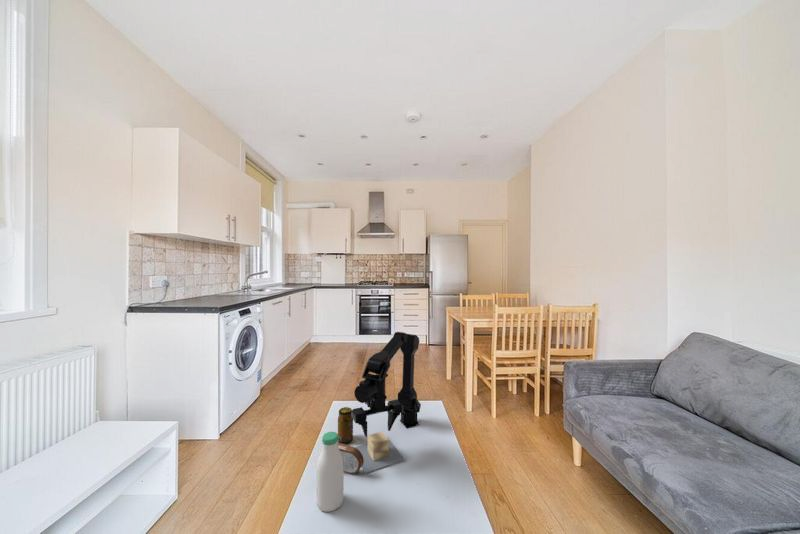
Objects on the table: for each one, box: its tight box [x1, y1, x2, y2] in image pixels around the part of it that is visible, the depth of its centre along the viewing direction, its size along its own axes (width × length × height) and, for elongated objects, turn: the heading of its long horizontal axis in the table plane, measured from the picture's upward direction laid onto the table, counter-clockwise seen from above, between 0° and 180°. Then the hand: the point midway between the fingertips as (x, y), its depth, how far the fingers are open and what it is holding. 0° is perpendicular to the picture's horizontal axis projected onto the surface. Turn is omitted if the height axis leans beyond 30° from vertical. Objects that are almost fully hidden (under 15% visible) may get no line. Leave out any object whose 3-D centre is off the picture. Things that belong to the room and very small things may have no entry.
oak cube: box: [367, 431, 390, 461], centre depth 110 cm, size 6×6×6 cm
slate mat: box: [354, 437, 406, 475], centre depth 110 cm, size 15×15×1 cm
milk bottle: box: [316, 431, 344, 513], centre depth 88 cm, size 8×8×20 cm
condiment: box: [337, 406, 360, 446], centre depth 119 cm, size 7×8×12 cm
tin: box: [337, 443, 364, 475], centre depth 102 cm, size 15×3×8 cm, turn 71°
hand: (377, 433), depth 110 cm, fingers open, 9 cm apart
